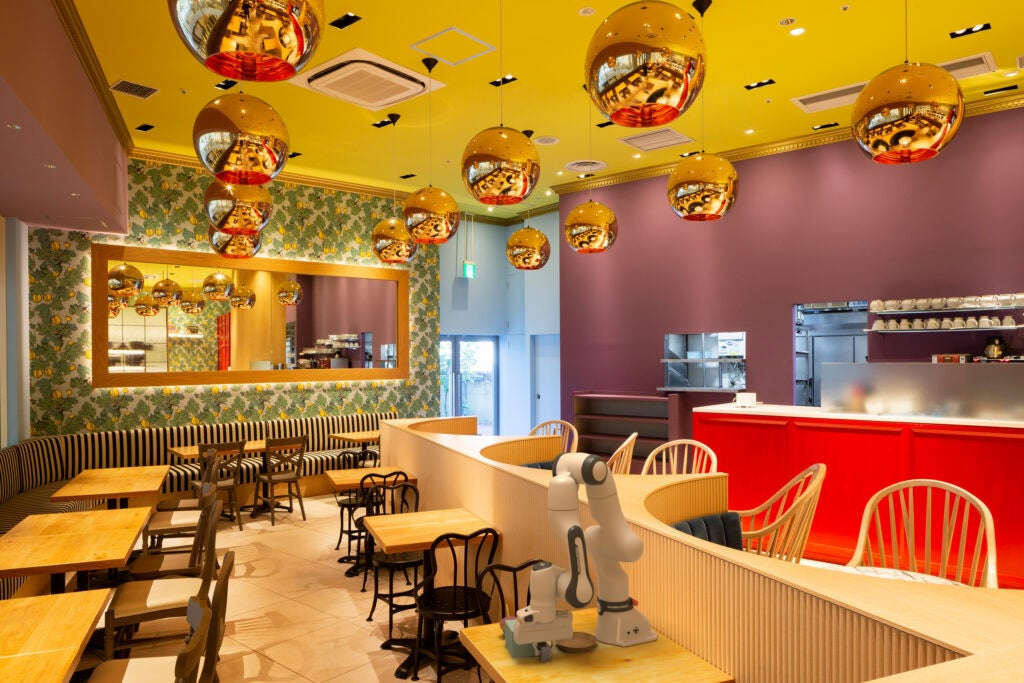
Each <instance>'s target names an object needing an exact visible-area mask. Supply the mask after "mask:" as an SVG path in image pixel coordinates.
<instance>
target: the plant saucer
mask: <svg viewBox="0 0 1024 683" xmlns="http://www.w3.org/2000/svg"><path fill="white" fill-rule="evenodd" d="M594 635H595V634H592V633H589V632H584V631H574V630H573V637H572V639H567V640H557V641H556V645H557V646H558V647H560V649H562V650H564V651H565V652H568V653H583V652H588V651H589V650H591V649H592V648H593V647H594V646H595V645H596V643H597V641H598V640H597V639H596V637H595V636H594Z"/></svg>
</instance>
